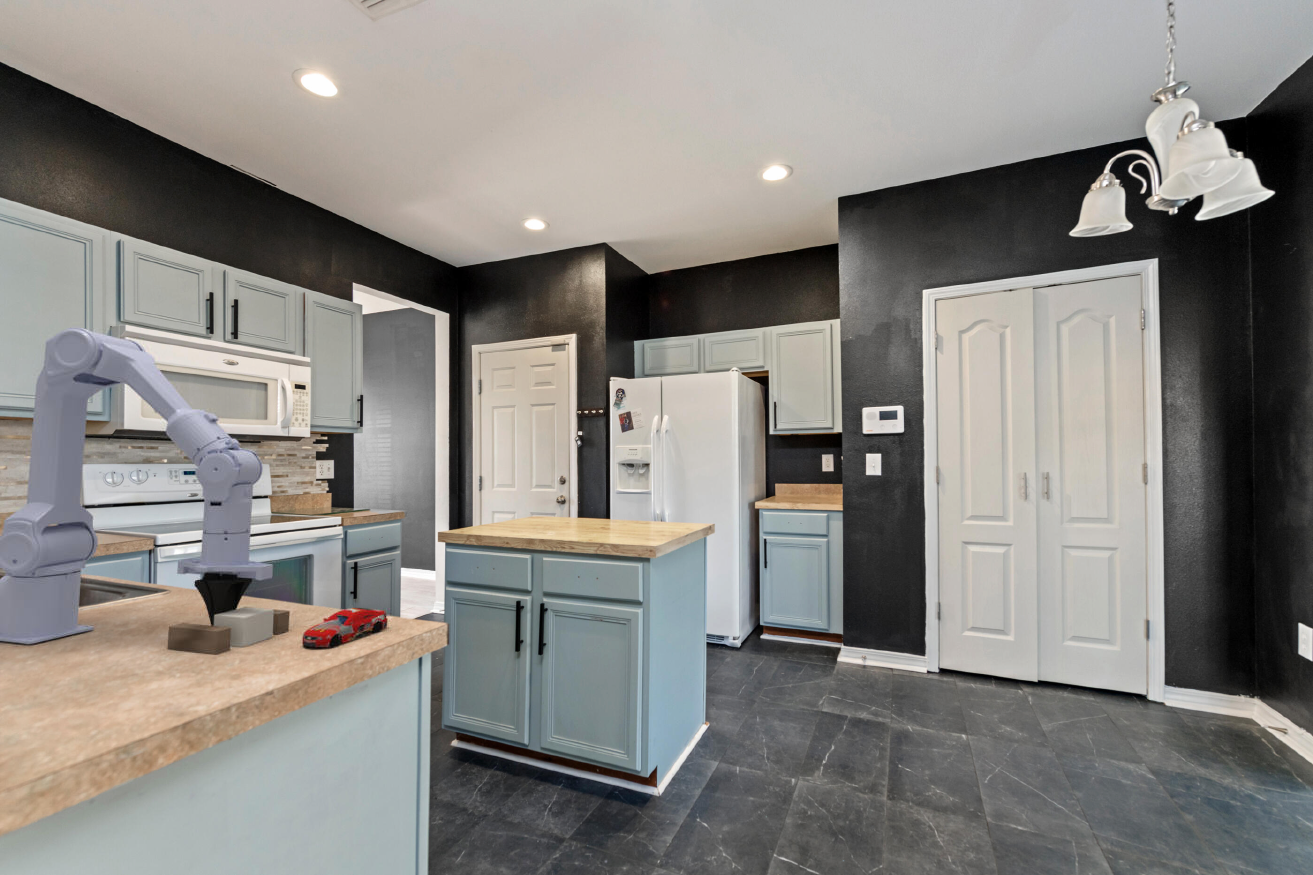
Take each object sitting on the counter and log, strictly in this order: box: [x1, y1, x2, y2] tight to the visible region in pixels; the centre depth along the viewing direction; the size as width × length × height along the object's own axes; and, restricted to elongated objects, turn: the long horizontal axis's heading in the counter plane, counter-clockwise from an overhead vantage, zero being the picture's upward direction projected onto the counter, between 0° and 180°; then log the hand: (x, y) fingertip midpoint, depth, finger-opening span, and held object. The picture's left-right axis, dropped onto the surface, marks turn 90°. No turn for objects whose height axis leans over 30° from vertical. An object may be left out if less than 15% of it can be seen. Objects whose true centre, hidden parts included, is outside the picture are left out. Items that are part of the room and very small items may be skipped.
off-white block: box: [214, 606, 275, 648], centre depth 87 cm, size 5×5×4 cm
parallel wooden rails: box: [166, 606, 290, 655], centre depth 88 cm, size 8×12×3 cm, turn 168°
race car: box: [301, 607, 388, 649], centre depth 90 cm, size 13×5×4 cm, turn 160°
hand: (221, 626), depth 88 cm, fingers closed
